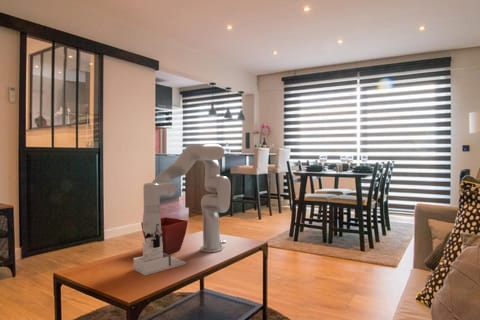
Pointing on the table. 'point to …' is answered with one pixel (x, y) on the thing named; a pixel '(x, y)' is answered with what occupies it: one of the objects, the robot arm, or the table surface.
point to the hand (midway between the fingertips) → (152, 245)
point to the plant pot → (171, 233)
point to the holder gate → (167, 256)
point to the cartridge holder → (155, 265)
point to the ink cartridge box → (152, 250)
